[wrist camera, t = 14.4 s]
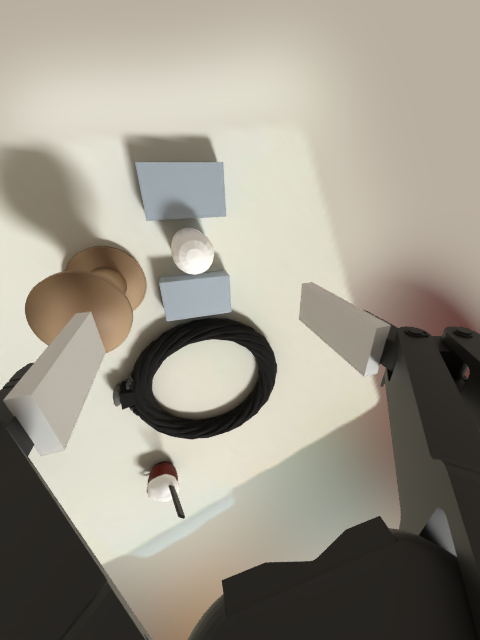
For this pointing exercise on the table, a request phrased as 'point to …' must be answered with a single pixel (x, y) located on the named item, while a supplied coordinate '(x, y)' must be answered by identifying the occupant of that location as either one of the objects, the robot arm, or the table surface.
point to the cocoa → (164, 485)
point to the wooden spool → (89, 295)
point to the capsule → (192, 251)
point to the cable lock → (139, 382)
